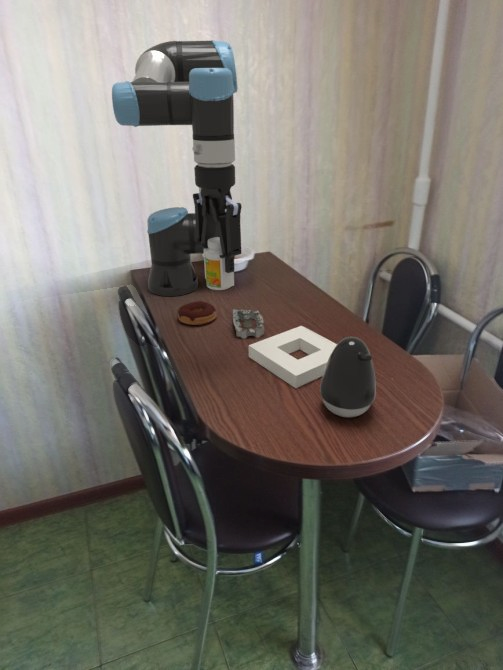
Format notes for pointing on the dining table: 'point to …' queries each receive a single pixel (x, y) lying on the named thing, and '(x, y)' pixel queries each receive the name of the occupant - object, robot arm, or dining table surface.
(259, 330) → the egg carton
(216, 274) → the supplement bottle
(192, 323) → the donut
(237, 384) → the dining table surface
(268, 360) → the socket holder
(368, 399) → the pump dispenser
